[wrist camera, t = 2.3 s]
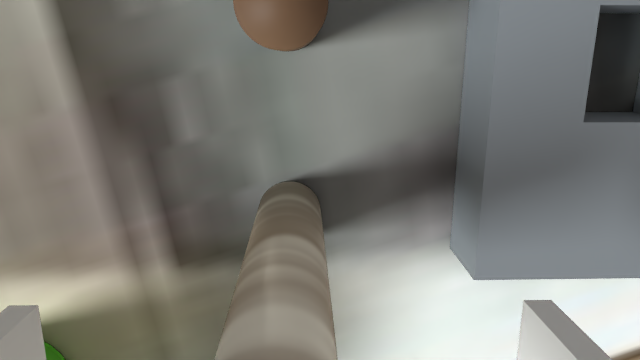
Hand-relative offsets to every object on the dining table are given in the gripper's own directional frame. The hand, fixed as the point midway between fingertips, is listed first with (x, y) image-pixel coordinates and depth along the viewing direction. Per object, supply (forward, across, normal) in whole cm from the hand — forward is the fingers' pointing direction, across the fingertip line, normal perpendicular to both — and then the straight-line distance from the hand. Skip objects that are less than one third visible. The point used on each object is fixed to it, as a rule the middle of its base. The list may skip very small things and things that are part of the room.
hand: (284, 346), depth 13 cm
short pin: (+10, 0, +10) cm, 14 cm away
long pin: (+11, 0, 0) cm, 11 cm away
